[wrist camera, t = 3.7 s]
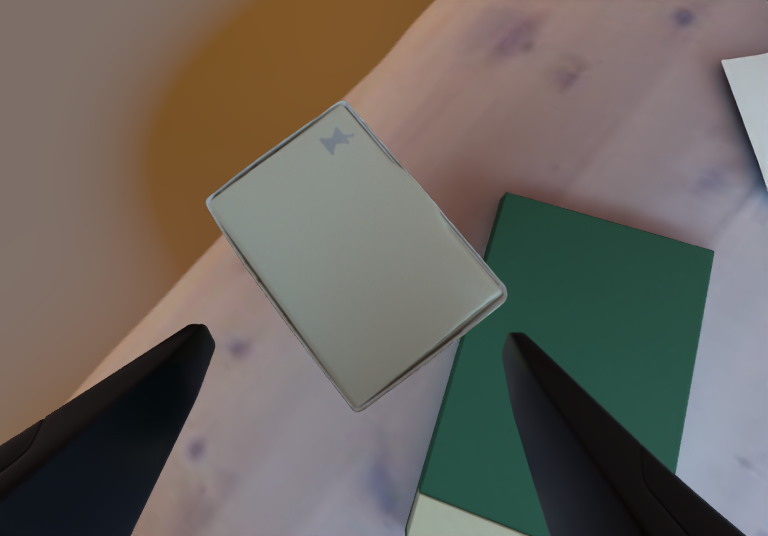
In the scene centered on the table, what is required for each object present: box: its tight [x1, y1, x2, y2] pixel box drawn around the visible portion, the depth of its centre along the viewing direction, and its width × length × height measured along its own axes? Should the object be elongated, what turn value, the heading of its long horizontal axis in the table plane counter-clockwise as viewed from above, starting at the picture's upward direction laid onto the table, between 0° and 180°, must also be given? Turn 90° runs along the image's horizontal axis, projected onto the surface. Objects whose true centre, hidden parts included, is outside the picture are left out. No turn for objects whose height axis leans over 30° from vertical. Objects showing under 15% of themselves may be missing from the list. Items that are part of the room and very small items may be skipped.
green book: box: [405, 192, 714, 536], centre depth 17 cm, size 20×12×1 cm, turn 162°
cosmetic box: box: [206, 100, 507, 412], centre depth 13 cm, size 6×4×12 cm
